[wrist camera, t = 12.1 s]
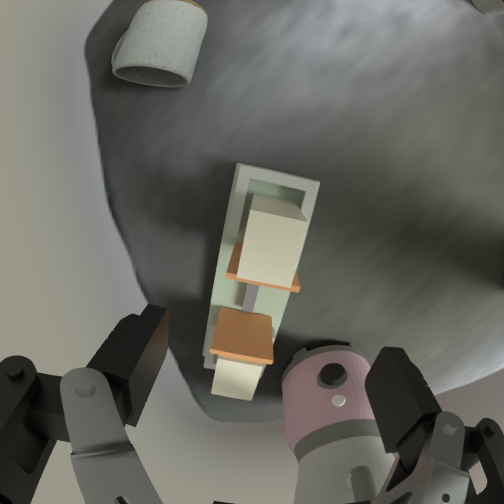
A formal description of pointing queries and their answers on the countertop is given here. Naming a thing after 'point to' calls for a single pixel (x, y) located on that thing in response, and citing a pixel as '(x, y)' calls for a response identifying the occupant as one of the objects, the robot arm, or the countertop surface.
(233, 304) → the rail
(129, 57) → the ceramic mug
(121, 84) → the countertop surface
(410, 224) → the countertop surface
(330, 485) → the blender
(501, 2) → the house plant
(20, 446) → the robot arm
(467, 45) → the countertop surface
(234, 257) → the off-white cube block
